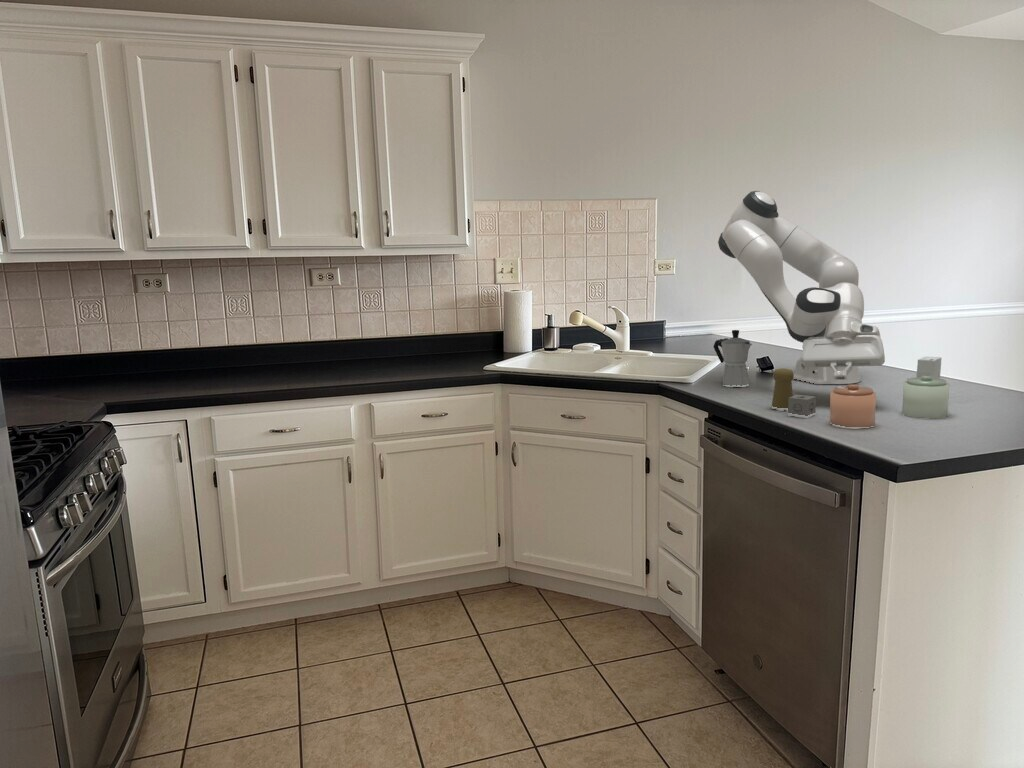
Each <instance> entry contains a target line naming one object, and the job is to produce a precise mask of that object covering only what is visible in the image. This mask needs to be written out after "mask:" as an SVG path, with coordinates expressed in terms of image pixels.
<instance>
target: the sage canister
mask: <svg viewBox="0 0 1024 768" xmlns="http://www.w3.org/2000/svg"><path fill="white" fill-rule="evenodd" d="M902 387H903V388H902V389H903V390H902V403H901V404H902V407H901V408H902V409H901V414H902V415H903V414H904V415H903V416H905V415H906V416H905V417H908V416H910V417H909V418H913V417H915V418H914V419H921V418H929V419H928V420H937V418H940V419H945V418H947V417H948V413H949V398H950V383H948V382H947V380H946V379H944V378H940V379H939V378H932V376H921V377H917V376H916V377H915V376H914V377H910V378H909V377H908V378H907V379H906V381H903V386H902Z"/></svg>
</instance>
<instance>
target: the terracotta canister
mask: <svg viewBox="0 0 1024 768" xmlns="http://www.w3.org/2000/svg"><path fill="white" fill-rule="evenodd" d="M829 395H830V398H829V399H830V400H829V401H830V402H829V423H830V422H831V423H832V424H835V425H840V426H845V427H871V426H874V425H875V426H876V407H877V406H876V405H877V392H876V391H874V389H873V388H871V387H866V386H860V385H859V384H856V383H851V384H847V385H842V386H835V387H834V388H833V389H832V390H831V391H830V392H829Z"/></svg>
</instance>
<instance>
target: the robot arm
mask: <svg viewBox="0 0 1024 768" xmlns="http://www.w3.org/2000/svg"><path fill="white" fill-rule="evenodd" d="M717 244H718V247H719V250H720V251H721V252H722V253H723V254H724V255H726V256H728V257H729V258H732V259H736V260H737V261H738V262H739V263H740V265H742V267H744V269H745V270H746V271H747V272H748V274H750V276H751V278H753V280H754V282H755V283H756V285H757V286H758V287H759V289H760V291H761V293H762V294H763V295H764V298H766V299H767V301H768V302H769V303H770V304H771V306H772V307H773V308H774V309H775V311H776V313H778V315H779V316H780V317H781V318H782V320H783V321H784V323H785V326H786V329H787V332H788V334H789V336H790V337H791V338H792V339H793V340H795V341H797V342H800V343H802V353H801V356H800V357H799V358H798V359H797V361H796V363H795V366H794V367H795V368H794V372H793V374H794V377H793V380H794V379H797V380H796V381H799V380H801V381H800V382H804V381H806V382H805V383H809V382H810V384H813V383H814V385H849V384H856V383H857V384H858V383H860V382H861V375H860V373H859V367H880V366H883V365H884V364H885V362H886V361H885V360H886V357H885V350H884V349H885V348H884V344H883V340H882V338H881V333H880V329H879V327H878V326H877V325H870V324H865V323H863V322H862V320H863V319H864V315H865V313H864V312H865V300H864V295H863V294H864V293H863V291H862V289H861V288H860V287H859V279H860V278H859V277H860V275H859V270H858V267H857V266H856V264H855V262H854V261H852V260H851V259H849V258H848V257H846V256H844V255H843V254H842V253H840V252H839V251H837V250H835V248H832V247H831V246H829V245H827V244H826V243H825V242H823V241H821V240H820V239H819V238H817V237H816V236H814V235H812V234H811V233H809V232H808V231H806V229H803V228H802V227H800V226H799V225H797V224H796V223H794V222H793V221H790V220H788V219H786V218H785V217H782V216H780V215H779V212H778V205H777V202H776V201H775V199H773V197H772V196H770V195H769V194H767V193H766V192H764V191H760V190H754V191H749V193H748V194H747V195H745V196H744V198H742V201H741V202H740V204H739V205H738V206H737V207H736V209H735V210H734V212H733V213H732V215H731V216H730V218H729V220H728V222H727V224H726V225H725V227H724V229H723V232H721V233H720V234H719V238H718V241H717ZM784 262H785V263H786V264H788V265H789V266H791V267H792V268H794V269H795V270H797V271H799V272H800V273H802V274H803V275H806V276H807V277H808V278H810V279H811V280H813V281H815V282H816V283H817V284H818V287H817V286H816V287H807V288H805V289H802V290H801V291H799V293H798V294H797V295H796V298H795V296H794V295H793V294H792V292H791V291H790V290H789V289H788V287H787V285H786V280H785V278H784V267H783V266H784Z"/></svg>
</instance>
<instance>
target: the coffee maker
mask: <svg viewBox="0 0 1024 768" xmlns="http://www.w3.org/2000/svg"><path fill="white" fill-rule="evenodd" d="M731 333H732V334H731V335H732V337H730V338H726V337H725V338H720V339H716V340H715V341H714V344H713V349H714V351H715V354H716V355H717V357H718V360H719V362H720V363H721V364H722V363H725V365H724V370H723V376H722V380H721V381H722V383H723V385H730V386H732V385H736V386H737V385H740V386H742V385H747V384H749V383H750V382H749V377H748V370H747V365H746V362H747V361H748V358H749V357H748V356H749V350H750V348H751V346H753V344H752V343H751V341H750V340H749V339H745V338H742V337H739V335H740V330H738V329H733V330H731ZM719 347H720V348H721V349H722V352H721V350H720V348H719ZM722 383H721V384H722ZM749 385H750V384H749Z"/></svg>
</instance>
